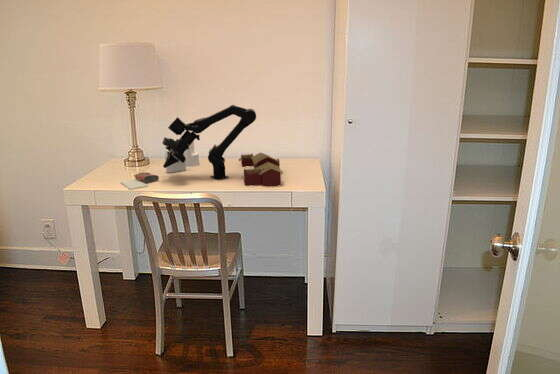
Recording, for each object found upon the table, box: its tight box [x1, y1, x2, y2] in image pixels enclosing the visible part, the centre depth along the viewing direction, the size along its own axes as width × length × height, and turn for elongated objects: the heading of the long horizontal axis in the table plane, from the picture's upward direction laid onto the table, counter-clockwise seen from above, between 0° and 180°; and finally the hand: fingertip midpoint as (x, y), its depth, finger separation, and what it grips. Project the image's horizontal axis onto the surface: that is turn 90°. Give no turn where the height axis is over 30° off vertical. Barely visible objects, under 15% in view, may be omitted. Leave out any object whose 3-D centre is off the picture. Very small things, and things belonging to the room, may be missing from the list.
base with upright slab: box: [185, 140, 200, 168], centre depth 254 cm, size 9×9×12 cm
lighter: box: [134, 172, 160, 183], centre depth 227 cm, size 8×3×10 cm
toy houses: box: [237, 152, 283, 187], centre depth 236 cm, size 45×20×10 cm, turn 9°
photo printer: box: [164, 149, 187, 174], centre depth 242 cm, size 10×4×12 cm, turn 123°
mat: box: [119, 178, 149, 191], centre depth 221 cm, size 14×8×1 cm, turn 36°
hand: (163, 167), depth 223 cm, fingers closed
